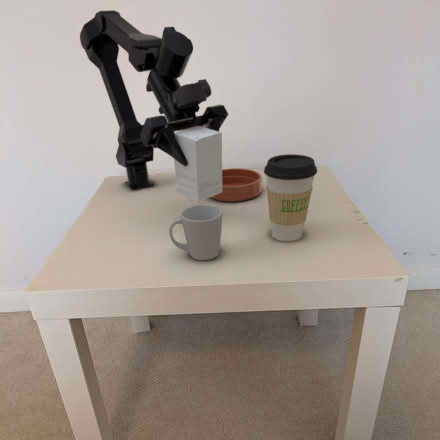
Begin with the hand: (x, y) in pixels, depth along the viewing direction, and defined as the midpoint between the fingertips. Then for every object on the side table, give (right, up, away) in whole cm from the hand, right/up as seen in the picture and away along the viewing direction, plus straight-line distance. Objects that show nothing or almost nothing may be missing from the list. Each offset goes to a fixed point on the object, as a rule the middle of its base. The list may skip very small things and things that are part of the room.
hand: (203, 160), depth 81 cm
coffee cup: (+17, -15, +1) cm, 23 cm away
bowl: (+7, -1, +22) cm, 23 cm away
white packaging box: (-1, -5, +5) cm, 8 cm away
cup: (-1, -20, -4) cm, 20 cm away
